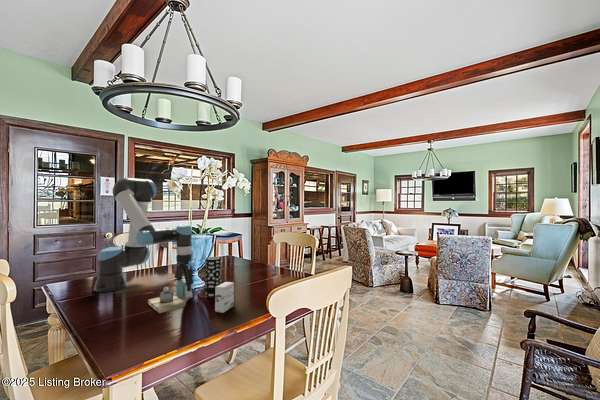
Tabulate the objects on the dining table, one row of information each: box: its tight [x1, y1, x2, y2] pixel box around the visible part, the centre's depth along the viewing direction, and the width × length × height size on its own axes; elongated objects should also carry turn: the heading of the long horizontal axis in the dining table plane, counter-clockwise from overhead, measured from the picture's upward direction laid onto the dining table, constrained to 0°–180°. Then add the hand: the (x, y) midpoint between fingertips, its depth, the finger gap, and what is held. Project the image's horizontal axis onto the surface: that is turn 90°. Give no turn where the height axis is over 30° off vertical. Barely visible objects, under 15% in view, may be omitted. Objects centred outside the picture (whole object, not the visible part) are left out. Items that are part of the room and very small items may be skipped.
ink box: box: [214, 281, 235, 314], centre depth 131 cm, size 9×5×12 cm, turn 158°
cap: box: [175, 279, 193, 298], centre depth 150 cm, size 8×8×7 cm
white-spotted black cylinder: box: [204, 256, 222, 299], centre depth 149 cm, size 8×8×20 cm
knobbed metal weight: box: [159, 286, 174, 303], centre depth 135 cm, size 6×6×6 cm
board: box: [147, 293, 186, 314], centre depth 135 cm, size 16×12×2 cm
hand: (183, 294), depth 150 cm, fingers open, 11 cm apart
